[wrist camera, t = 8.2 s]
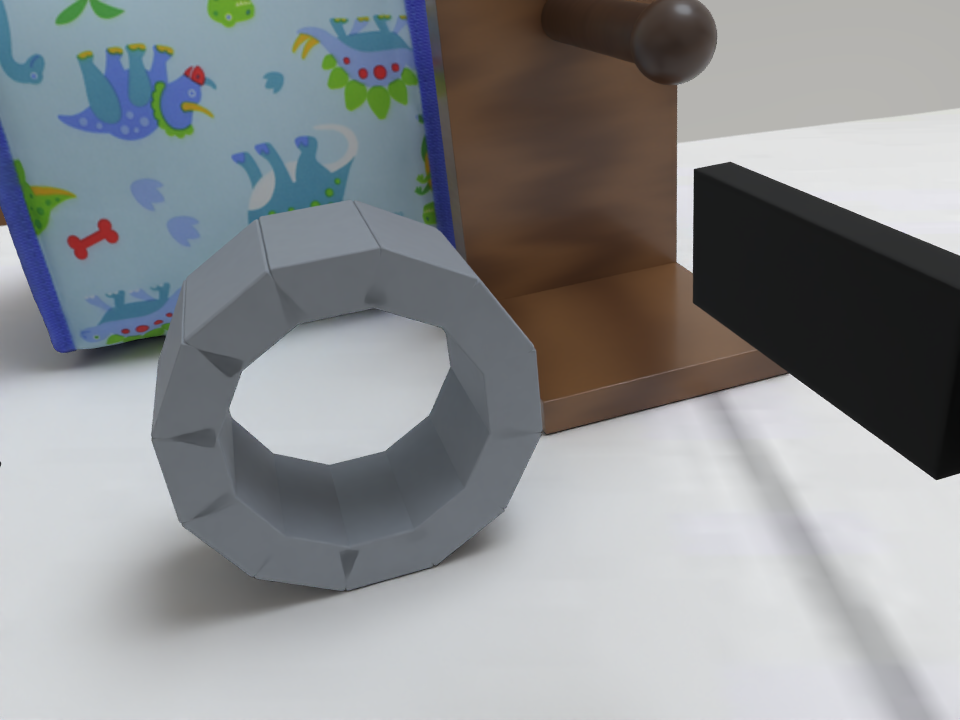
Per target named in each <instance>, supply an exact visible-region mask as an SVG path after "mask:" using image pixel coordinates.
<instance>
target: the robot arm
mask: <svg viewBox="0 0 960 720" xmlns="http://www.w3.org/2000/svg"><path fill="white" fill-rule="evenodd" d="M693 303H694V304H695V305H696V306H698V307H699V308H700V309H702V310H703V311H705V312H706V313H707V314H709V315H710V316H711V317H713V318H714V319H716V320H717V321H718V322H720V323H721V324H722V325H724V326H725V327H727V328H728V329H729V330H731V331H732V332H733V333H735V334H736V335H738V336H739V337H740V338H742V339H743V340H744V341H746V342H747V343H749V344H750V345H751V346H753V347H754V348H755V349H757V350H758V351H760V352H761V353H762V354H764V355H765V356H766V357H768V358H769V359H771V360H772V361H773V362H775V363H776V364H777V365H779V366H780V367H782V368H783V369H784V370H786V371H787V372H788V373H790V374H791V375H793V376H794V377H795V378H797V379H798V380H799V381H801V382H802V383H804V384H805V385H806V386H808V387H809V388H810V389H812V390H813V391H814V392H816V393H817V394H819V395H820V396H821V397H823V398H824V399H825V400H827V401H828V402H830V403H831V404H832V405H834V406H835V407H836V408H838V409H839V410H841V411H842V412H843V413H845V414H846V415H847V416H849V417H850V418H852V419H853V420H854V421H856V422H857V423H858V424H860V425H861V426H863V427H864V428H865V429H867V430H868V431H869V432H871V433H872V434H874V435H875V436H876V437H878V438H879V439H880V440H882V441H883V442H885V443H886V444H887V445H889V446H890V447H891V448H893V449H894V450H896V451H897V452H898V453H900V454H901V455H902V456H904V457H905V458H907V459H908V460H909V461H911V462H912V463H913V464H915V465H916V466H918V467H919V468H920V469H922V470H923V471H924V472H926V473H927V474H929V475H930V476H931V477H933V478H934V479H935V480H939V479H942V478H946V477H949V476H952V475H956V474H959V473H960V256H959V255H956V254H954V253H952V252H949V251H947V250H944V249H942V248H939V247H937V246H934V245H932V244H930V243H927V242H925V241H922V240H920V239H917V238H915V237H912V236H910V235H908V234H905V233H903V232H900V231H898V230H895V229H893V228H891V227H888V226H886V225H883V224H881V223H878V222H876V221H873V220H871V219H869V218H866V217H864V216H861V215H859V214H856V213H854V212H851V211H849V210H847V209H844V208H842V207H839V206H837V205H834V204H832V203H830V202H827V201H825V200H822V199H820V198H817V197H815V196H812V195H810V194H808V193H805V192H803V191H800V190H798V189H795V188H793V187H790V186H788V185H786V184H783V183H781V182H778V181H776V180H773V179H771V178H768V177H766V176H764V175H761V174H759V173H756V172H754V171H751V170H749V169H747V168H744V167H742V166H739V165H737V164H734V163H732V162H727V163H722V164H717V165H712V166H707V167H702V168H697V169H694V215H693ZM0 466H1V462H0Z"/></svg>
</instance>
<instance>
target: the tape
mask: <svg viewBox="0 0 960 720" xmlns="http://www.w3.org/2000/svg"><path fill="white" fill-rule="evenodd" d="M372 308H376V309H379V310H383V311H386V312H390V313H393V314H396V315H400V316H403V317H407V318H410V319H414V320H417V321H420V322H424V323H427V324H431V325H434V326H437V327H441V328H442V329H443V330H444V331H445V332H446V337H447V344H448V352H449V359H450V366H451V367H450V369H449V372H448V374H447V376H446V379H445V381H444V383H443V385H442V388H441V390H440V392H439V395H438V397H437V399H436V402H435V404H434V406H433V409H432V411H431V413H430V415H429V416H428V417H426V418H425V419H424V420H423V421H422V422H420V423H419V424H418V425H417V426H415V427H414V428H413V429H412V430H411V431H409V432H408V433H407V434H406V435H404V436H403V437H402V438H401V439H399V440H398V441H397V442H396V443H395V444H393V445H392V446H391V447H390V448H388V449H387V450H386V451H384V452H380V453H376V454H372V455H368V456H364V457H360V458H356V459H352V460H348V461H344V462H340V463H336V464H332V465H326V464H322V463H317V462H312V461H307V460H302V459H297V458H293V457H288V456H283V455H278V454H273V453H272V452H271V451H270V450H269V449H268V448H266V447H265V446H264V445H263V444H262V443H261V442H259V441H258V440H257V439H256V438H255V437H254V436H252V435H251V434H250V433H249V432H248V431H247V430H245V429H244V428H243V427H242V426H241V425H240V424H239V423H237V422H236V421H235V420H234V419H233V418H232V417H231V414H230V411H229V407H230V404H231V401H232V398H233V395H234V392H235V389H236V387H237V384H238V381H239V378H240V375H241V372H242V371H243V370H244V369H245V368H246V367H248V366H249V365H250V364H251V363H252V362H254V361H255V360H256V359H257V358H258V357H260V356H261V355H262V354H263V353H264V352H266V351H267V350H268V349H269V348H270V347H272V346H273V345H274V344H275V343H276V342H278V341H279V340H280V339H281V338H283V337H284V336H285V335H286V334H287V333H289V332H290V331H291V330H292V329H293V328H295V327H296V326H297V325H298V324H302V323H306V322H311V321H316V320H321V319H325V318H330V317H335V316H339V315H344V314H349V313H353V312H358V311H363V310H367V309H372ZM542 430H543V428H542V416H541V404H540V392H539V380H538V367H537V355H536V350H535V348H534V345H533V344H532V342H531V341H530V340H529V339H528V337H527V336H526V335H525V334H524V333H523V331H522V330H521V329H520V328H519V326H518V325H517V324H516V323H515V321H514V320H513V319H512V318H511V317H510V315H509V314H508V313H507V312H506V310H505V309H504V308H503V307H502V305H501V304H500V303H499V302H498V301H497V299H496V298H495V297H494V296H493V294H492V293H491V292H490V291H489V289H488V288H487V287H486V286H485V284H484V283H483V282H482V281H481V280H480V278H479V277H478V276H477V275H476V274H475V272H474V271H473V270H472V269H471V267H470V266H469V265H468V264H467V263H466V261H465V260H464V259H463V258H462V257H461V255H460V254H459V253H458V252H457V251H456V249H455V248H454V247H453V246H452V244H451V243H450V242H449V241H448V240H447V238H446V237H445V236H444V235H443V234H442V232H441V231H438V229H437V228H435V227H432V226H429V225H426V224H423V223H420V222H417V221H415V220H412V219H409V218H406V217H403V216H400V215H397V214H394V213H391V212H389V211H386V210H383V209H380V208H377V207H374V206H371V205H368V204H365V203H363V202H360V201H357V200H354V201H352V200H347V201H341V202H336V203H331V204H325V205H320V206H314V207H309V208H304V209H298V210H293V211H288V212H282V213H277V214H271V215H266V216H261V217H259V220H258V219H256V220H254V221H253V222H251V223H250V224H249V225H248V226H247V227H246V228H244V229H243V230H242V231H241V232H240V233H238V234H237V235H236V236H235V237H234V238H233V239H231V240H230V241H229V242H228V243H227V244H225V245H224V246H223V247H222V248H221V249H219V250H218V251H217V252H216V253H215V254H214V255H212V256H211V257H210V258H209V259H208V260H206V261H205V262H204V263H203V264H202V265H201V266H199V267H198V268H197V269H196V270H195V271H193V272H192V273H191V274H190V275H189V276H187V278H186V280H184V281H183V284H182V287H181V291H180V294H179V297H178V300H177V303H176V306H175V310H174V313H173V316H172V319H171V322H170V326H169V329H168V332H167V335H166V338H165V342H164V345H163V348H162V351H161V354H160V358H159V361H158V371H157V381H156V392H155V402H154V412H153V422H152V433H151V436H152V443H153V446H154V449H155V452H156V455H157V458H158V461H159V464H160V467H161V470H162V473H163V475H164V478H165V481H166V484H167V487H168V490H169V493H170V496H171V499H172V502H173V505H174V508H175V511H176V514H177V517H178V520H179V522H180V523H182V526H183V527H184V528H186V529H187V530H189V531H190V532H191V533H193V534H194V535H195V536H197V537H198V538H199V539H201V540H202V541H203V542H205V543H206V544H207V545H209V546H210V547H211V548H213V549H214V550H216V551H217V552H218V553H220V554H221V555H222V556H224V557H225V558H226V559H228V560H229V561H230V562H232V563H233V564H234V565H236V566H237V567H238V568H240V569H241V570H242V571H244V572H245V573H247V574H248V575H249V576H251V577H254V578H256V579H261V580H268V581H275V582H282V583H289V584H296V585H303V586H310V587H317V588H324V589H331V590H338V591H344V590H345V589H346V590H347V591H348V590H352V589H355V588H359V587H362V586H366V585H370V584H373V583H377V582H380V581H384V580H387V579H391V578H394V577H398V576H402V575H405V574H409V573H412V572H416V571H419V570H423V569H427V568H430V567H432V566H433V564H434V565H437V564H439V563H440V562H441V561H442V560H444V559H445V558H446V557H447V556H449V555H450V554H451V553H452V552H454V551H455V550H456V549H457V548H459V547H460V546H461V545H462V544H464V543H465V542H466V541H467V540H469V539H470V538H471V537H472V536H474V535H475V534H476V533H477V532H479V531H480V530H481V529H482V528H484V527H485V526H486V525H487V524H489V523H490V522H491V521H492V520H494V519H495V518H496V517H497V516H499V515H500V514H501V513H502V512H504V508H506V507H507V505H508V503H509V501H510V499H511V496H512V494H513V492H514V490H515V488H516V486H517V484H518V482H519V480H520V478H521V476H522V474H523V472H524V470H525V468H526V465H527V463H528V461H529V459H530V457H531V455H532V453H533V451H534V449H535V447H536V445H537V443H538V441H539V439H540V437H541V432H542Z"/></svg>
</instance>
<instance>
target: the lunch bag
mask: <svg viewBox="0 0 960 720" xmlns="http://www.w3.org/2000/svg"><path fill="white" fill-rule="evenodd" d="M347 200H352V201H354V200H357V201H360V202H363V203H365V204H368V205H371V206H374V207H377V208H380V209H383V210H386V211H389V212H391V213H394V214H397V215H400V216H403V217H406V218H409V219H412V220H415V221H417V222H420V223H423V224H426V225H429V226H432V227H435V228H437V229H438V231H441V232H442V234H443V235H444V236H445V237H446V238H447V240H448V241H449V242H450V243H451V244H452V246H453V247H454V248H455V249H456V245H455V237H454V229H453V221H452V213H451V205H450V197H449V189H448V181H447V173H446V165H445V157H444V149H443V141H442V133H441V125H440V117H439V108H438V100H437V92H436V84H435V76H434V68H433V60H432V52H431V44H430V36H429V28H428V20H427V12H426V4H425V0H0V206H1V209H2V212H3V214H4V217H5V219H6V222H7V225H8V228H9V231H10V234H11V237H12V240H13V243H14V246H15V248H16V250H17V254H18V257H19V259H20V262H21V265H22V268H23V271H24V273H25V276H26V278H27V281H28V284H29V286H30V289H31V292H32V294H33V297H34V299H35V302H36V304H37V306H38V308H39V310H40V313H41V315H42V317H43V320H44V323H45V325H46V327H47V329H48V332H49V335H50V338H51V342H52V344H53V346H54V348H55V350H56V351H58V352H60V353H67V352H72V351H76V350H77V349H93V348H99V347H105V346H111V345H116V344H120V343H124V342H128V341H132V340H136V339H143V338H149V337H155V336H163V335H167V332H168V329H169V326H170V322H171V319H172V316H173V313H174V310H175V306H176V303H177V300H178V297H179V294H180V291H181V287H182V284H183V281H184V280H186V278H187V276H189V275H190V274H191V273H192V272H193V271H195V270H196V269H197V268H198V267H199V266H201V265H202V264H203V263H204V262H205V261H206V260H208V259H209V258H210V257H211V256H212V255H214V254H215V253H216V252H217V251H218V250H219V249H221V248H222V247H223V246H224V245H225V244H227V243H228V242H229V241H230V240H231V239H233V238H234V237H235V236H236V235H237V234H238V233H240V232H241V231H242V230H243V229H244V228H246V227H247V226H248V225H249V224H250V223H251V222H253V221H254V220H256V219H258V220H259V217H261V216H266V215H271V214H277V213H282V212H288V211H293V210H298V209H304V208H309V207H314V206H320V205H325V204H331V203H336V202H341V201H347Z"/></svg>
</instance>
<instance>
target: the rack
mask: <svg viewBox="0 0 960 720" xmlns="http://www.w3.org/2000/svg"><path fill="white" fill-rule="evenodd" d="M425 4H426V12H427V20H428V28H429V36H430V44H431V52H432V60H433V68H434V76H435V84H436V92H437V100H438V108H439V117H440V125H441V133H442V141H443V149H444V157H445V165H446V173H447V181H448V189H449V197H450V205H451V213H452V221H453V229H454V237H455V245H456V251H457V252H458V253H459V254H460V255H461V257H462V258H463V259H464V260H465V261H466V263H467V264H468V265H469V266H470V267H471V269H472V270H473V271H474V272H475V274H476V275H477V276H478V277H479V278H480V280H481V281H482V282H483V283H484V284H485V286H486V287H487V288H488V289H489V291H490V292H491V293H492V294H493V296H494V297H495V298H496V299H497V301H498V302H499V303H500V304H501V305H502V307H503V308H504V309H505V310H506V312H507V313H508V314H509V315H510V317H511V318H512V319H513V320H514V321H515V323H516V324H517V325H518V326H519V328H520V329H521V330H522V331H523V333H524V334H525V335H526V336H527V337H528V339H529V340H530V341H531V342H532V344H533V345H534V348H535V350H536V355H537V367H538V380H539V392H540V404H541V416H542V428H543V431H544V432H545V434H550V433H554V432H558V431H562V430H565V429H569V428H573V427H577V426H581V425H585V424H589V423H593V422H597V421H601V420H605V419H609V418H612V417H616V416H620V415H624V414H628V413H632V412H636V411H640V410H644V409H648V408H652V407H656V406H660V405H663V404H667V403H671V402H675V401H679V400H683V399H687V398H691V397H695V396H699V395H703V394H707V393H710V392H714V391H718V390H722V389H726V388H730V387H734V386H738V385H742V384H746V383H750V382H754V381H757V380H761V379H765V378H769V377H773V376H777V375H781V374H785V373H788V372H787V371H786V370H784V369H783V368H782V367H780V366H779V365H777V364H776V363H775V362H773V361H772V360H771V359H769V358H768V357H766V356H765V355H764V354H762V353H761V352H760V351H758V350H757V349H755V348H754V347H753V346H751V345H750V344H749V343H747V342H746V341H744V340H743V339H742V338H740V337H739V336H738V335H736V334H735V333H733V332H732V331H731V330H729V329H728V328H727V327H725V326H724V325H722V324H721V323H720V322H718V321H717V320H716V319H714V318H713V317H711V316H710V315H709V314H707V313H706V312H705V311H703V310H702V309H700V308H699V307H698V306H696V305H695V304H694V303H693V273H691V272H690V271H689V270H687V269H686V268H684V267H683V266H681V265H680V264H678V263H677V262H676V243H677V85H678V84H682V83H685V82H688V81H690V80H692V79H694V78H695V77H696V76H698V75H699V74H700V73H701V72H702V71H703V70H704V69H705V68H706V67H707V65H708V64H709V63H710V61H711V59H712V57H713V54H714V52H715V49H716V44H717V30H716V25H715V21H714V19H713V17H712V15H711V13H710V12H709V10H708V9H707V8H706V7H705V6H704V5H703V4H702V3H701V2H699V1H698V0H425Z"/></svg>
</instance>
